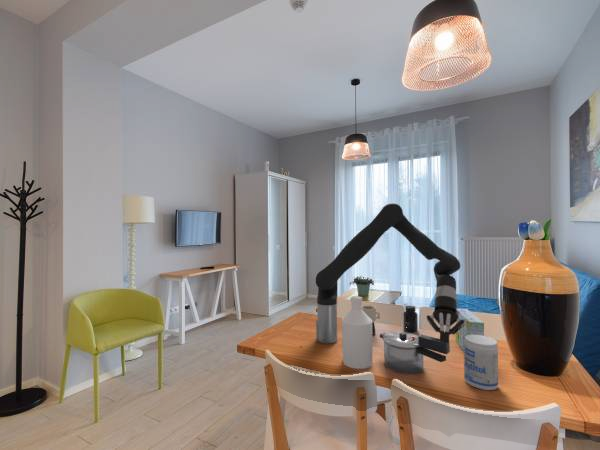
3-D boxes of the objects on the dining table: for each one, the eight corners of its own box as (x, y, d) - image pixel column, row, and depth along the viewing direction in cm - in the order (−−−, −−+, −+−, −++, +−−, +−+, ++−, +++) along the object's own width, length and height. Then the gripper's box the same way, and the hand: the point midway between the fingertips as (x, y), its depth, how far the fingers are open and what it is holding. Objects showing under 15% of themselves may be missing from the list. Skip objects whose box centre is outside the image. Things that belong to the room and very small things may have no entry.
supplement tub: (461, 384, 96) (460, 339, 96) (467, 373, 103) (466, 332, 103) (496, 395, 89) (495, 347, 90) (500, 382, 97) (499, 338, 97)
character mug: (381, 332, 144) (381, 306, 145) (378, 337, 138) (377, 310, 139) (360, 329, 150) (360, 304, 150) (356, 333, 144) (355, 307, 144)
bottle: (336, 358, 116) (335, 296, 117) (360, 353, 121) (359, 293, 121) (353, 371, 105) (352, 302, 106) (379, 365, 110) (378, 299, 111)
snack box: (485, 361, 112) (484, 322, 112) (469, 360, 113) (468, 321, 114) (468, 341, 133) (467, 308, 133) (454, 340, 134) (454, 307, 134)
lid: (375, 340, 111) (375, 330, 111) (395, 331, 120) (395, 322, 121) (439, 360, 93) (438, 348, 93) (456, 348, 103) (456, 337, 103)
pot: (370, 359, 115) (369, 336, 115) (394, 351, 123) (393, 329, 123) (431, 390, 92) (430, 362, 93) (456, 378, 100) (455, 351, 100)
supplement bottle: (403, 331, 146) (402, 307, 146) (403, 327, 152) (403, 304, 152) (417, 333, 143) (417, 309, 143) (417, 329, 150) (417, 305, 150)
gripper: (426, 293, 113) (422, 335, 102) (465, 296, 106) (466, 341, 96) (428, 303, 117) (425, 344, 107) (465, 307, 111) (466, 352, 100)
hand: (444, 343), depth 101 cm, fingers closed
